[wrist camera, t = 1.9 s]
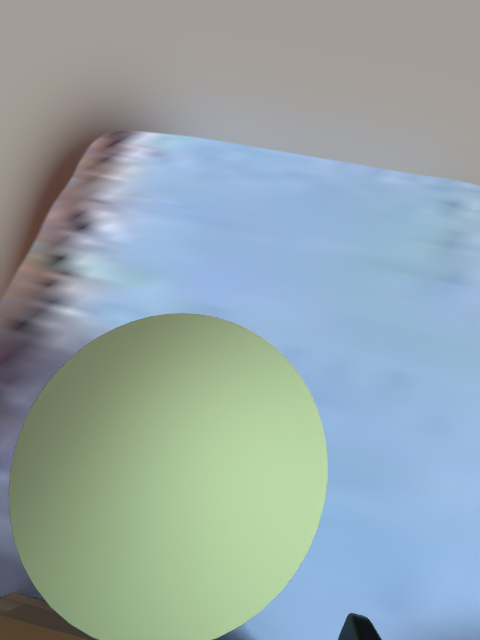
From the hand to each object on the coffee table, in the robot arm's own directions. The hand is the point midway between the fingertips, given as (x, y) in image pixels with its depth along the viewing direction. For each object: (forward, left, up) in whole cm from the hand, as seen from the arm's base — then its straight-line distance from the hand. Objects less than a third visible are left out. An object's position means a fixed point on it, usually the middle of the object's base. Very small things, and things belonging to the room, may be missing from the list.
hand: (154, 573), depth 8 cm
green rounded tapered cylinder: (+2, 0, -10) cm, 10 cm away
